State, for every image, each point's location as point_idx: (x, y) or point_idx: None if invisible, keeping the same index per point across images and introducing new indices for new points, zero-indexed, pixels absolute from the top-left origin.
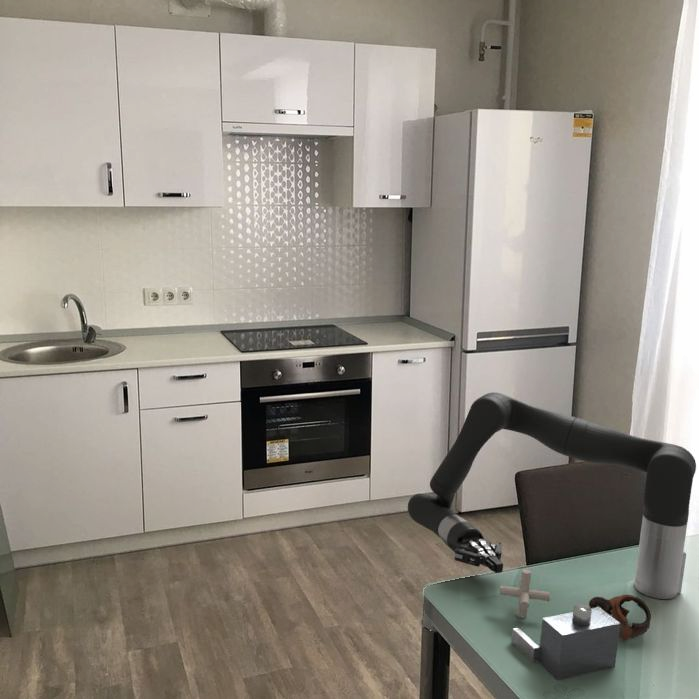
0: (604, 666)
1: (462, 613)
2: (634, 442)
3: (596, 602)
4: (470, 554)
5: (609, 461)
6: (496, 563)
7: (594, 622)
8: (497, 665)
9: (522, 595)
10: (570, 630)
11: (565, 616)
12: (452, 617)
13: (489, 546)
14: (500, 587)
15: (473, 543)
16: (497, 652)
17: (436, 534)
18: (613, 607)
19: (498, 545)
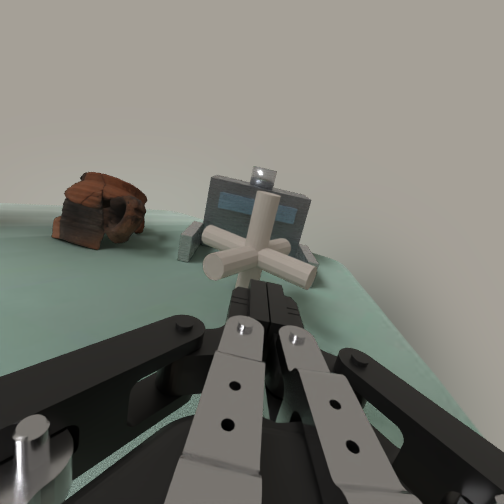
0: None
1: (395, 373)
2: None
3: (143, 204)
4: (417, 392)
5: None
6: (279, 285)
7: (247, 182)
8: (351, 280)
9: (275, 245)
10: (288, 191)
11: (276, 191)
12: (425, 373)
13: (139, 449)
14: (315, 267)
15: (390, 502)
16: (343, 288)
17: None
18: (134, 196)
19: (36, 396)
